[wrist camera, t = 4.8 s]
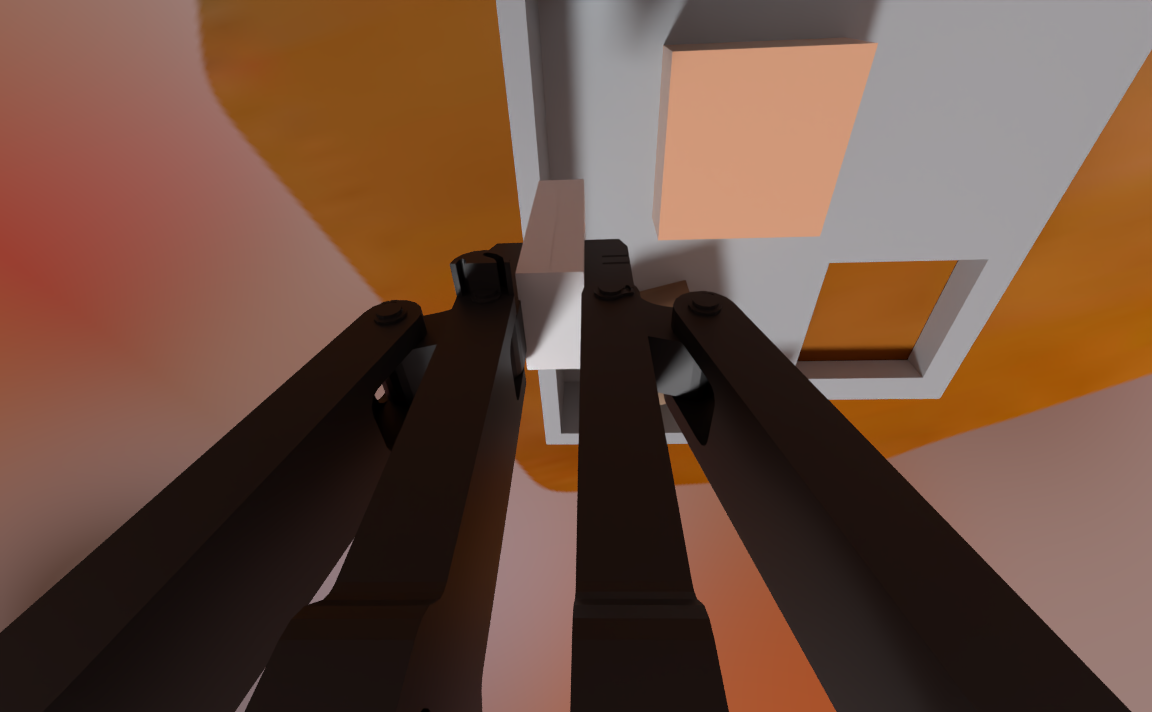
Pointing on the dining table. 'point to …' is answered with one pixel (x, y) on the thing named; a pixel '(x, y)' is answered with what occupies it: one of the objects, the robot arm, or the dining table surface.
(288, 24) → the dining table surface
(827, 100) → the terracotta tile
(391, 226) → the dining table surface
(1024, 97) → the cubby deck
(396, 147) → the dining table surface
